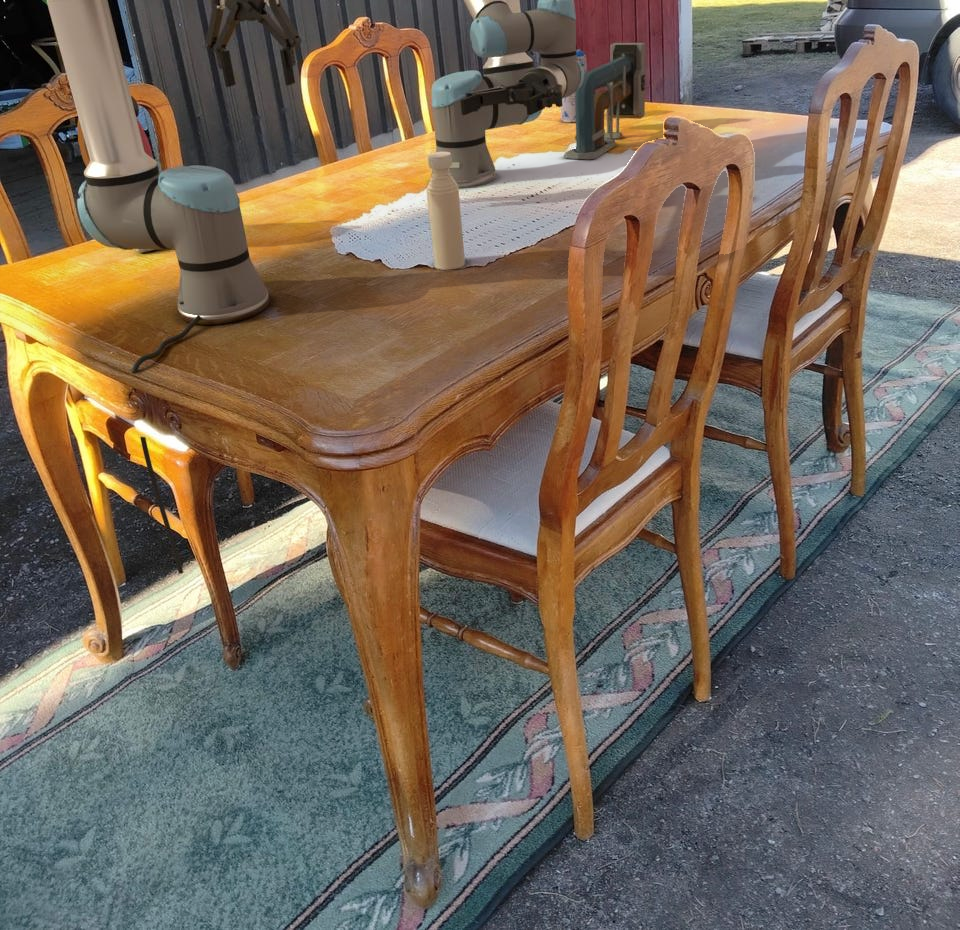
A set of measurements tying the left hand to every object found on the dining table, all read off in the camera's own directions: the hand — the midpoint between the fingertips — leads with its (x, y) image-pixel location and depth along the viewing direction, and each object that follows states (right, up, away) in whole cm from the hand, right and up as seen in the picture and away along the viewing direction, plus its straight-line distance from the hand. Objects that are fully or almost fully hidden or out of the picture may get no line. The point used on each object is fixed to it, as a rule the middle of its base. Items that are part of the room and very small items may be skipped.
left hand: (260, 85), depth 196 cm
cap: (+38, -23, -28) cm, 53 cm away
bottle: (+39, -40, -18) cm, 59 cm away
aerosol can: (+72, +22, +82) cm, 111 cm away
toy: (-25, -31, +7) cm, 41 cm away
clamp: (+77, +6, +55) cm, 95 cm away
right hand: (+47, -11, -17) cm, 51 cm away
